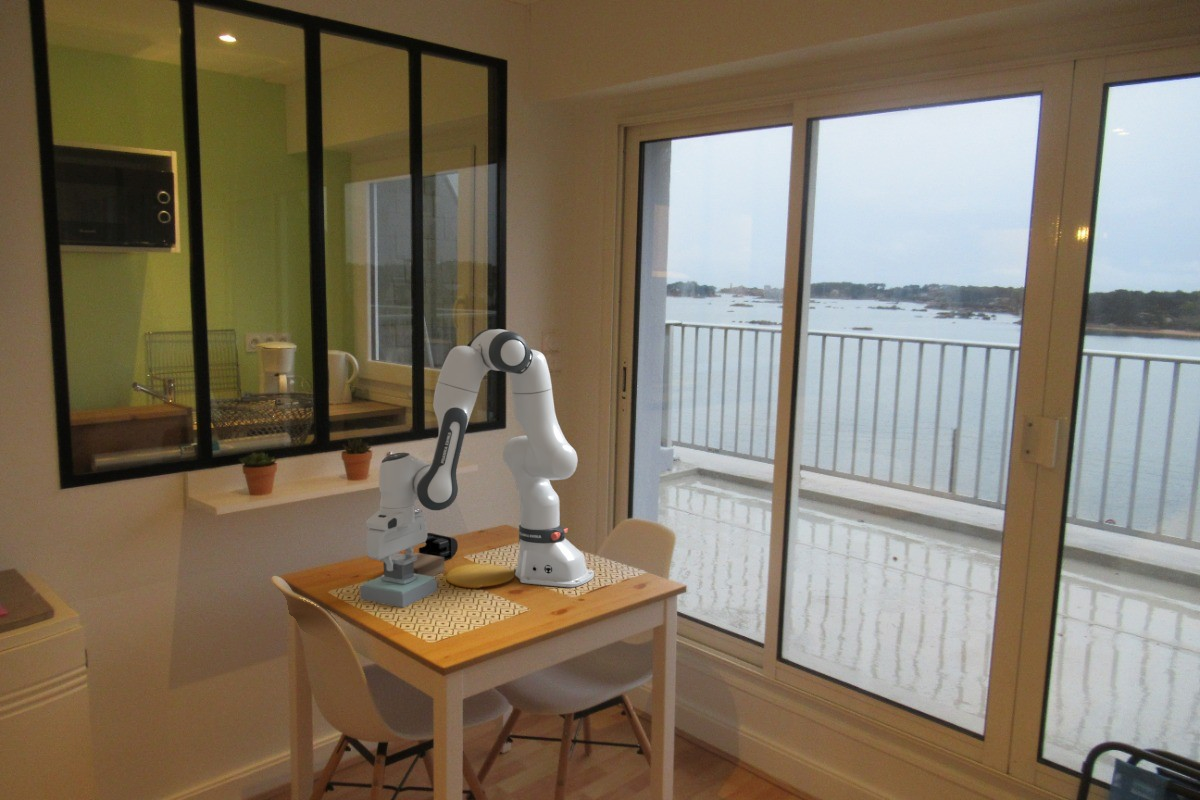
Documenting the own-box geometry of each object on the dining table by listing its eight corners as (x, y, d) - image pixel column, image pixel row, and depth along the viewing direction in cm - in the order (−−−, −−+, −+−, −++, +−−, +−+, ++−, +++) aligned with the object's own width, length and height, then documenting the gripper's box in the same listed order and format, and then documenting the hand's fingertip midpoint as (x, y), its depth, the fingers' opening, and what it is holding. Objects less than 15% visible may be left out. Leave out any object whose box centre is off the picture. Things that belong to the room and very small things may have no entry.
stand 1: (444, 570, 243) (444, 557, 243) (417, 582, 233) (417, 568, 232) (411, 565, 249) (411, 551, 248) (383, 576, 238) (383, 562, 237)
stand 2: (437, 591, 226) (437, 576, 225) (402, 607, 213) (402, 592, 213) (396, 583, 232) (395, 569, 232) (360, 599, 220) (359, 584, 219)
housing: (417, 578, 223) (417, 556, 222) (404, 584, 218) (404, 561, 218) (393, 574, 226) (393, 552, 226) (380, 579, 222) (379, 557, 221)
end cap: (458, 557, 257) (458, 535, 256) (441, 563, 251) (441, 541, 250) (435, 552, 262) (434, 530, 261) (417, 557, 256) (417, 535, 256)
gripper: (413, 505, 231) (415, 555, 233) (361, 522, 213) (363, 576, 214) (432, 508, 228) (433, 558, 230) (380, 525, 210) (382, 579, 212)
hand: (399, 567), depth 222 cm, fingers closed on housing, 5 cm apart
